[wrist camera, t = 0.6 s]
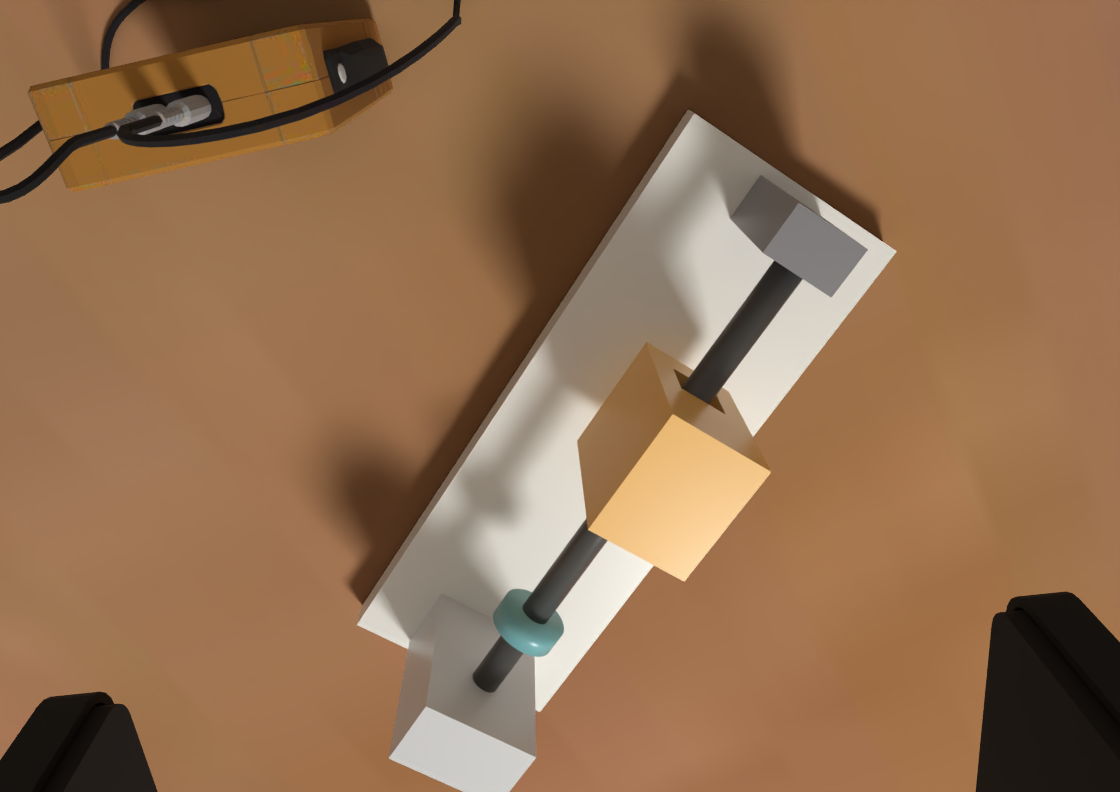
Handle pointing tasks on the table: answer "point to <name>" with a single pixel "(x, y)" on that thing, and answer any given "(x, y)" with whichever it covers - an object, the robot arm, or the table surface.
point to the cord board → (562, 416)
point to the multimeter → (209, 101)
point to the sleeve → (666, 465)
